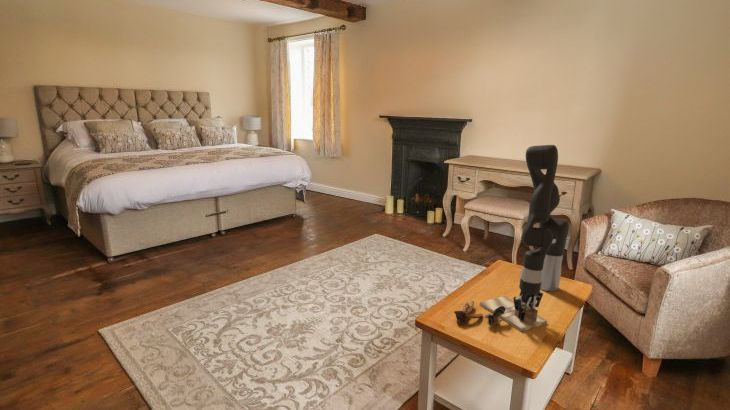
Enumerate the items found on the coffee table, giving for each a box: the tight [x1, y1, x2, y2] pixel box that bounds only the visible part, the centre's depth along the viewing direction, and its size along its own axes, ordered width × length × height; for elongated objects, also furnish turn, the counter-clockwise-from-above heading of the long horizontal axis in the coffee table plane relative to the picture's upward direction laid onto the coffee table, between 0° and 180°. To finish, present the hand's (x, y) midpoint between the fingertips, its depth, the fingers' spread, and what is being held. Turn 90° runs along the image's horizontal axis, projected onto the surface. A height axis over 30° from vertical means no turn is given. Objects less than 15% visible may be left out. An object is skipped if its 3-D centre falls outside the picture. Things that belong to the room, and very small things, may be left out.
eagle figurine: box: [484, 306, 505, 328], centre depth 152 cm, size 8×7×9 cm
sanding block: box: [514, 302, 539, 324], centre depth 153 cm, size 4×7×5 cm, turn 27°
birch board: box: [479, 295, 548, 332], centre depth 160 cm, size 14×22×1 cm, turn 27°
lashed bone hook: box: [453, 299, 483, 325], centre depth 156 cm, size 9×5×18 cm
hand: (525, 318), depth 154 cm, fingers closed on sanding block, 4 cm apart
